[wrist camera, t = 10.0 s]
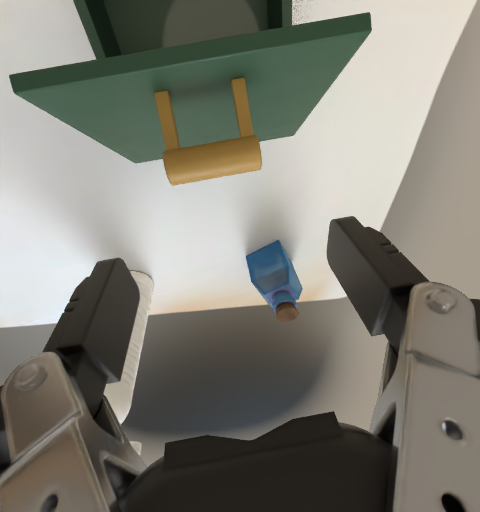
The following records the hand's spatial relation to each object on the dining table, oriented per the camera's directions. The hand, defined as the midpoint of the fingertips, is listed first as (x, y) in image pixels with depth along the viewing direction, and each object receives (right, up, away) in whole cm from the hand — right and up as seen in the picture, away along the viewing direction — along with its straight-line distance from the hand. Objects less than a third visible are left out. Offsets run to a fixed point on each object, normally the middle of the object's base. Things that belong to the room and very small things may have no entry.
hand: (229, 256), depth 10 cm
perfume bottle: (+6, -1, +35) cm, 35 cm away
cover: (-2, +10, +8) cm, 13 cm away
